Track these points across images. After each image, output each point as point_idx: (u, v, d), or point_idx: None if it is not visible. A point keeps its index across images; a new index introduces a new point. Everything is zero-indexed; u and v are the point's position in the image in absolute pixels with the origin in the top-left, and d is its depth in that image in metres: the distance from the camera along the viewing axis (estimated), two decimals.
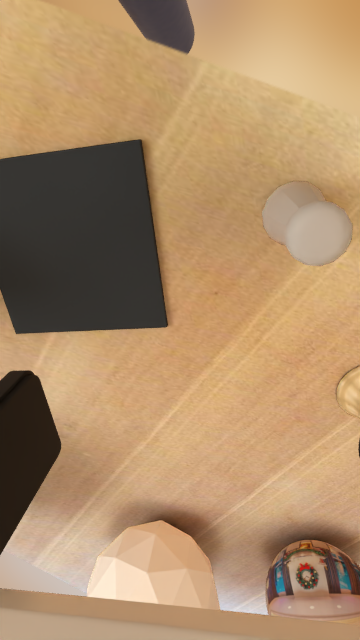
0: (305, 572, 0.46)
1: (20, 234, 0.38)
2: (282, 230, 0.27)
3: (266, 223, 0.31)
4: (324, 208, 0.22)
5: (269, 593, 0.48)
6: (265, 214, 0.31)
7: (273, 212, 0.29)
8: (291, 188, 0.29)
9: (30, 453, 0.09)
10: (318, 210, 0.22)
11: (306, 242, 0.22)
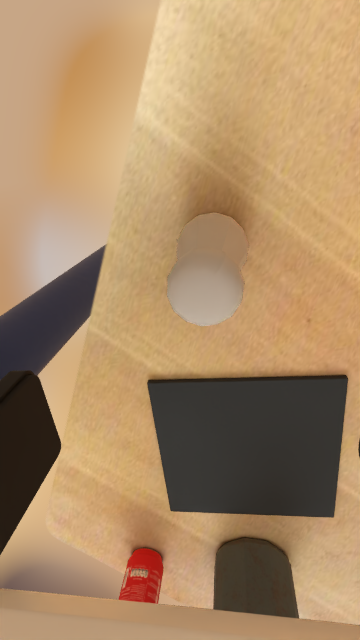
0: None
1: (228, 486, 0.41)
2: None
3: None
4: (170, 293, 0.18)
5: None
6: None
7: None
8: None
9: (30, 453, 0.09)
10: (172, 300, 0.19)
11: (209, 311, 0.18)
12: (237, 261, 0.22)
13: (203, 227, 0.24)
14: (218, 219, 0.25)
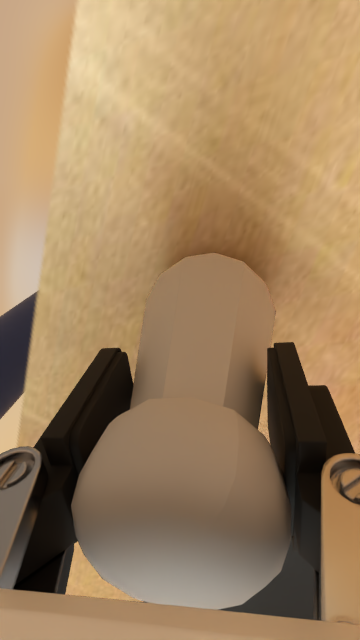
0: None
1: None
2: None
3: None
4: (80, 539, 0.06)
5: None
6: None
7: None
8: None
9: None
10: (86, 556, 0.07)
11: (189, 601, 0.06)
12: (261, 380, 0.10)
13: (189, 295, 0.12)
14: (221, 272, 0.13)
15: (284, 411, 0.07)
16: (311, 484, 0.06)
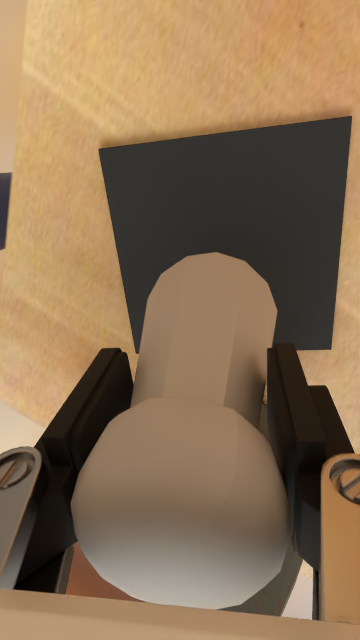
0: None
1: None
2: None
3: None
4: (79, 537, 0.06)
5: None
6: None
7: None
8: None
9: None
10: (85, 555, 0.07)
11: (188, 600, 0.06)
12: (261, 380, 0.10)
13: (190, 294, 0.12)
14: (222, 271, 0.13)
15: (284, 411, 0.07)
16: (311, 483, 0.06)
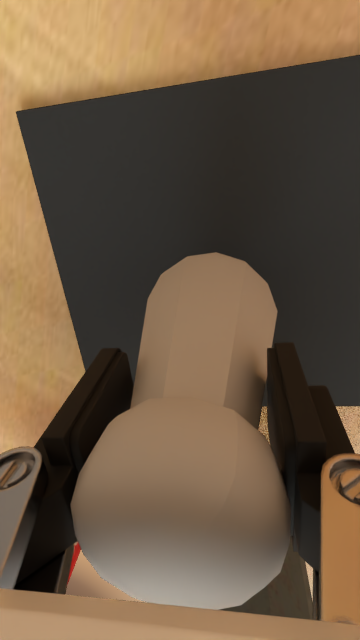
0: None
1: None
2: None
3: None
4: (79, 538, 0.06)
5: None
6: None
7: None
8: None
9: None
10: (85, 556, 0.07)
11: (188, 601, 0.06)
12: (261, 380, 0.10)
13: (190, 294, 0.12)
14: (222, 272, 0.13)
15: (284, 411, 0.07)
16: (311, 483, 0.06)
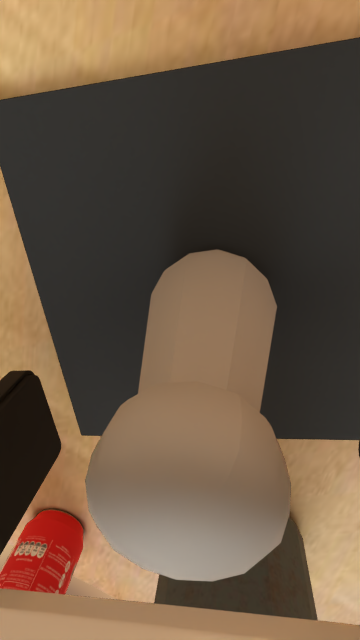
0: None
1: None
2: None
3: None
4: (93, 512, 0.07)
5: None
6: None
7: None
8: None
9: (30, 453, 0.09)
10: (99, 528, 0.07)
11: (195, 569, 0.07)
12: (262, 370, 0.11)
13: (193, 289, 0.12)
14: (224, 267, 0.13)
15: None
16: None
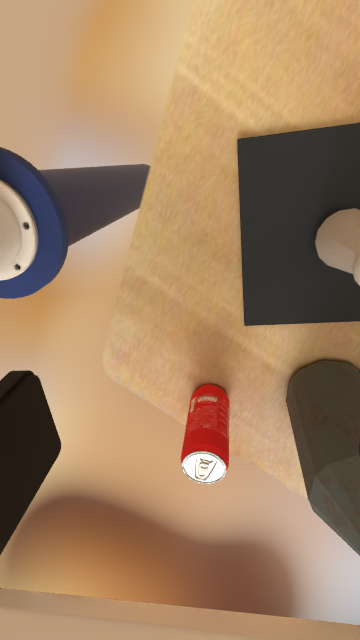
0: None
1: (313, 283, 0.38)
2: None
3: None
4: None
5: None
6: (343, 270, 0.33)
7: None
8: (324, 252, 0.32)
9: (30, 453, 0.09)
10: None
11: None
12: None
13: (356, 221, 0.29)
14: None
15: None
16: None
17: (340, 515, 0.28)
